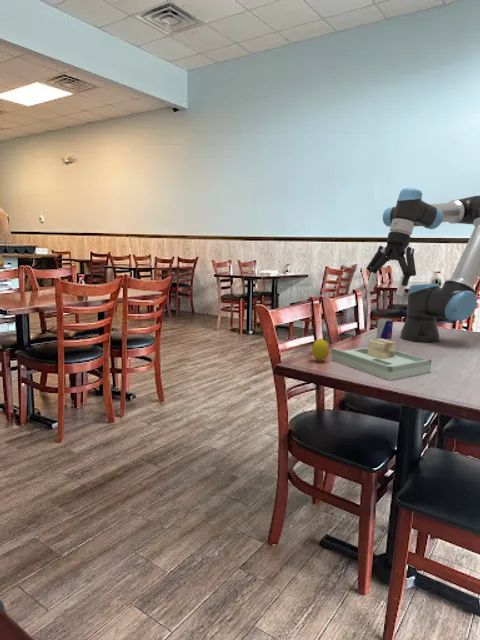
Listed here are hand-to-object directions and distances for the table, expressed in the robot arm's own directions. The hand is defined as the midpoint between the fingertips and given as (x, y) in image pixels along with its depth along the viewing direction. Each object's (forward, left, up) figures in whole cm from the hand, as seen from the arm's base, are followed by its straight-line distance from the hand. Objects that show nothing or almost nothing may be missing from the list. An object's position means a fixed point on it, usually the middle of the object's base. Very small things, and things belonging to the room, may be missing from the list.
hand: (383, 292), depth 157 cm
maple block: (+8, +8, -20) cm, 23 cm away
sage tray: (+11, +10, -23) cm, 27 cm away
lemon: (+25, -3, -23) cm, 34 cm away
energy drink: (-5, -3, -23) cm, 24 cm away
